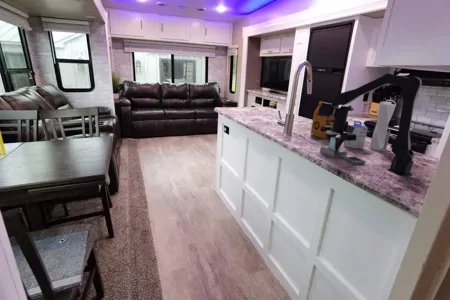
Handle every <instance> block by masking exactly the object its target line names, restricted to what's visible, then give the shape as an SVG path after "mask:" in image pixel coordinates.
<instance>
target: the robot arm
mask: <svg viewBox="0 0 450 300" xmlns="http://www.w3.org/2000/svg"><path fill="white" fill-rule="evenodd" d="M388 84H389V85H392V86H396V87H399V88H401V93H402V94H401V96H402V104H401V112H400V117H399V125H398V129H397V135H396V136H393V137H392V138H391V144H390V145H391V146H390V147H389V149H391V152H392V154H393V155H394V156H393V157H394V158H393V159H392V160H391V163H390V168H388V169H387V170H388V171H391V172H392V173H395V174H397V175H399V176H409V175H413V172H411V171H412V169H413V165H414V161H415V160H413V159H414V157H415V155H416V154H415V152H414V150H412V148H411V147H412V146H411V135H410V133H411V125H412V121H413V120H412V119H413V115H414V108H415V103H416V98H417V97H418V95H419V92H420V90H421V88H422V85H423V81H422V79H421V78H420V77H418V76H409V77H406V76H402V75H397V74H394V73H388V72H387V73H385V74H384V75H382V76H379V77H378V78H376V79H373V80H372V81H370V82H367V83H365V84H363V85H361V86H359V87H357V88H355V89H350V90H347V91H344V92H340V93H339V94H337V96H336V99H335V100H334V101H333V102H332V103H330V102H325V101H321V102H322V105H321V106H320V108H319V111H318V114H319V115H320V116H326V117H331V116H332V115H334V119H333V120H332V121H331V122H333V125H332V126H322V127H321V129H320V131H322V132H325V131H327V132H326V133H325V135H326V136H327V138H326V139H327V141H328V145H329V144H330V139H331V137H335V149H336V150H338V149H339V147H340V148H341V146H342V145H343V144H344V141H352V140H356V137H357V136H356V134H353V131H354V129H355V128H354V127H352V126H350V125H351V124H349V121H347V120H348V116H349V113H350V112H353V111H354V110H355V109H354V108H353V106H352V105H351V103H353V102H354V101H356V100H357V99H358V98H359V97H361V96H363V95H365V94H369V93H370V92H372V91H374V90H377V89H379V88H381V87H383V86H386V85H388ZM349 104H350V105H349ZM346 105H348V106H346ZM338 106H340V107H338ZM346 132H350V133H346Z"/></svg>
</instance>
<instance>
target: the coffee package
mask: <svg viewBox="0 0 450 300" xmlns="http://www.w3.org/2000/svg"><path fill="white" fill-rule="evenodd" d="M322 102H323V101H322V100H321V101H319V102H318V106H317V107H316V108H315V111H314V112H313V115H312V116H313V117H312V121H311V129H310V134H311V135H313V136H316V137H317V138H320V139H327V136H326V135H325V133H326V132H327V131H325V132H322V131H320V129H321V127H322V126H332V125H333V122H331V121H332V120H334V116H335V114H334V115H332V116H331V117H326V116H320V115H319V114H318V111H319V108H320V106H321V105H322Z"/></svg>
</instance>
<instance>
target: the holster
mask: <svg viewBox="0 0 450 300" xmlns="http://www.w3.org/2000/svg"><path fill="white" fill-rule="evenodd" d="M343 159H344V161H345V162H348V163H349V162H350V163H349V164H351V165H354V166H359V165H365V164H366V160H364V159H362V158H360V157H357V156H356V155H354V156H347V157H344V158H343Z"/></svg>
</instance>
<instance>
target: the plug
mask: <svg viewBox="0 0 450 300" xmlns="http://www.w3.org/2000/svg"><path fill="white" fill-rule="evenodd" d="M328 146H329V149H331V150H333V151H338V150H339V149H338V150H336V149H335V137H331V139H330V144H329V143H328ZM339 148H340V149H341V146H340V147H339Z"/></svg>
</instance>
